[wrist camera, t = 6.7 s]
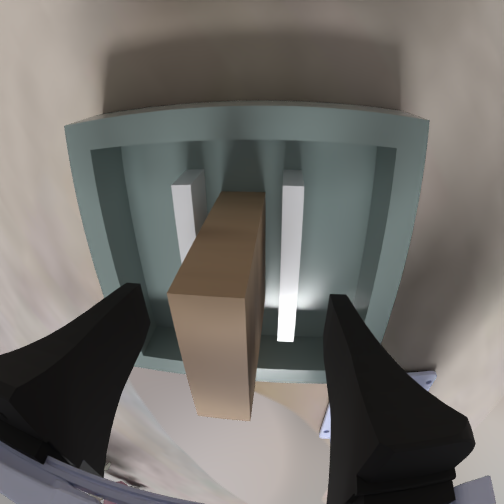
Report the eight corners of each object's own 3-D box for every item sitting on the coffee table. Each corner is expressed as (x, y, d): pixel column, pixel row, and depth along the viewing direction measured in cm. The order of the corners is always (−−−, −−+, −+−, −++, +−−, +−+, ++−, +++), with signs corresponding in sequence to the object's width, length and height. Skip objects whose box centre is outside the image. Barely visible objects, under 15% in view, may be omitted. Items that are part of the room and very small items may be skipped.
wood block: (265, 298, 17) (250, 421, 11) (228, 297, 17) (197, 415, 11) (265, 192, 14) (244, 298, 8) (220, 191, 14) (166, 293, 8)
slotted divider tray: (359, 343, 19) (366, 382, 16) (146, 330, 21) (130, 365, 18) (400, 110, 12) (429, 120, 9) (102, 114, 13) (64, 125, 11)
